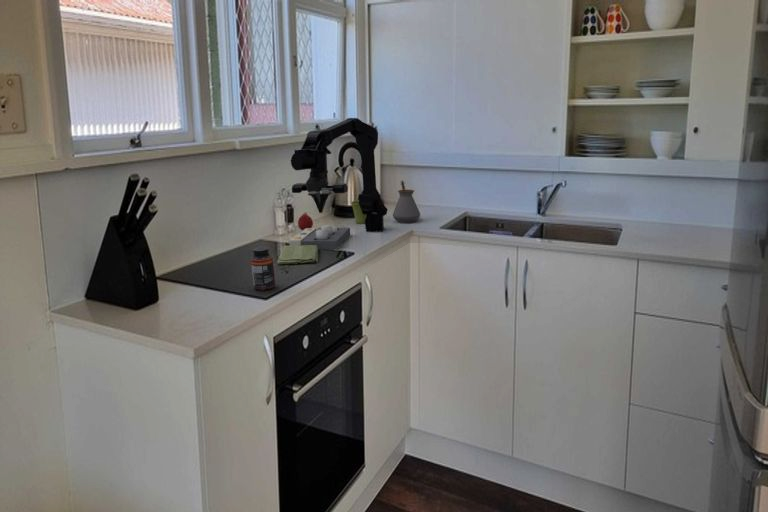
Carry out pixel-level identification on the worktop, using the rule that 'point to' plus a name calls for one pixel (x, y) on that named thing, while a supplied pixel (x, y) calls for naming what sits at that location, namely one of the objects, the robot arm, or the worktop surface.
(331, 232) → the button
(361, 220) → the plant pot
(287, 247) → the washcloth
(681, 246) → the worktop surface
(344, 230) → the board
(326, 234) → the button
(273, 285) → the supplement bottle
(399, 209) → the coffee pot
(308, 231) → the tile
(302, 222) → the onion
